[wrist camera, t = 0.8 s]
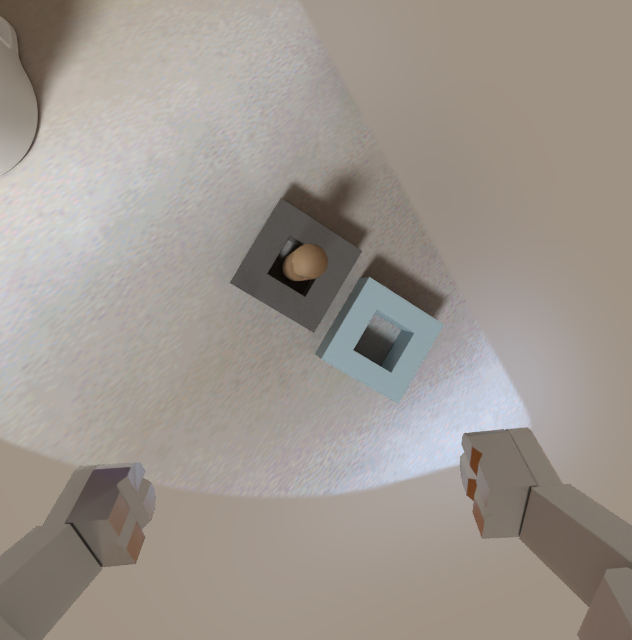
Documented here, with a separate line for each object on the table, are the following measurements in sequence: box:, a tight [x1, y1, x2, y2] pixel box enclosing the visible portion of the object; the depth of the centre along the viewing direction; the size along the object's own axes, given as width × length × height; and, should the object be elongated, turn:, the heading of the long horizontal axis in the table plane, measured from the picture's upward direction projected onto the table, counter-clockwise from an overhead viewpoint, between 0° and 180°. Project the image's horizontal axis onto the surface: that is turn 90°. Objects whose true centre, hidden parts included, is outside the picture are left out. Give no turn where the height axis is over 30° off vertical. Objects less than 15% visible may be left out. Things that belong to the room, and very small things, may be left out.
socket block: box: [230, 198, 362, 332], centre depth 45 cm, size 10×10×3 cm
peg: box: [280, 243, 328, 282], centre depth 41 cm, size 3×3×11 cm
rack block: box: [316, 277, 444, 403], centre depth 47 cm, size 10×10×4 cm
